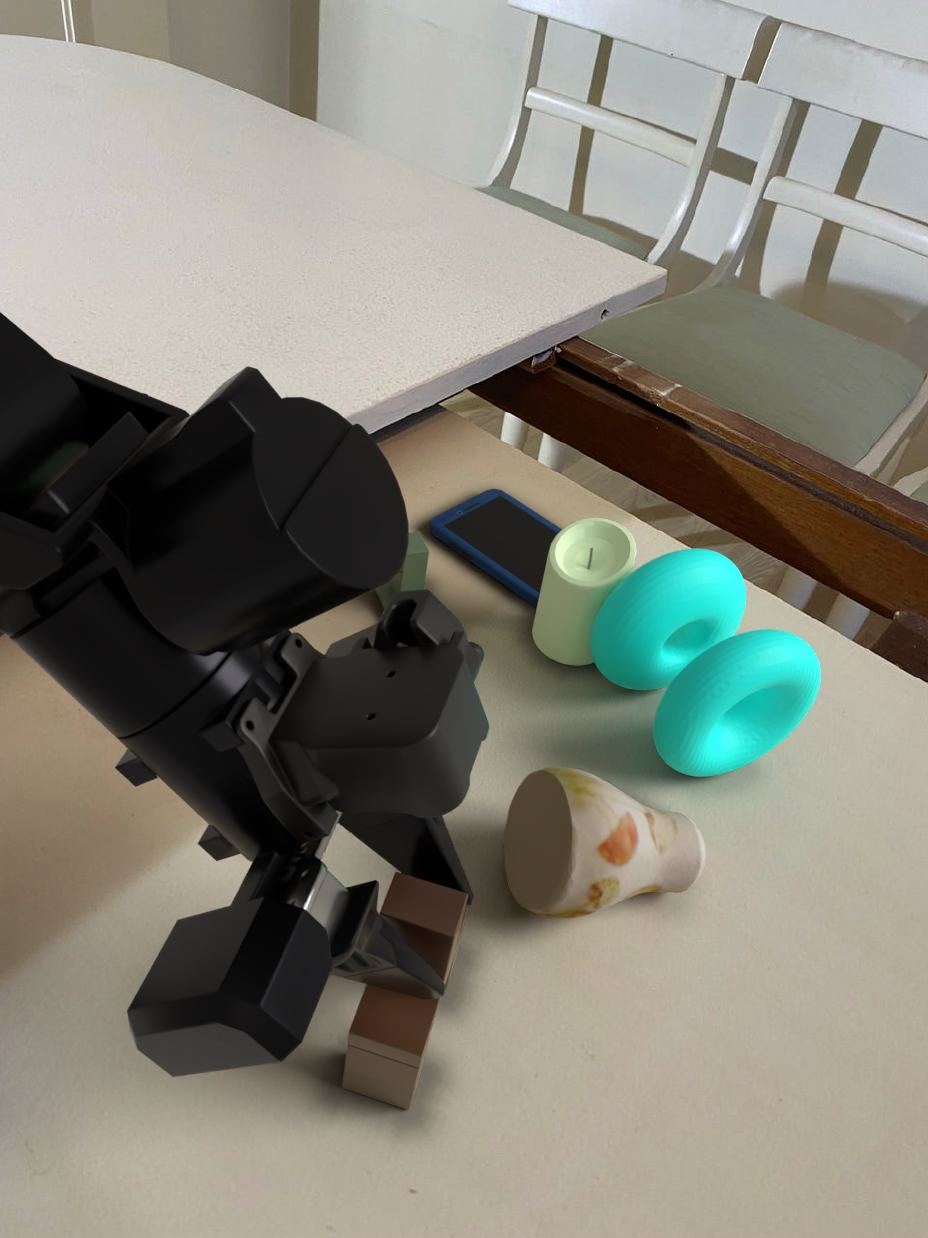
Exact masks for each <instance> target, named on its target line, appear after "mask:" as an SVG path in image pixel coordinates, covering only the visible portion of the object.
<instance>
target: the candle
mask: <svg viewBox="0 0 928 1238" xmlns="http://www.w3.org/2000/svg"><path fill="white" fill-rule="evenodd" d="M561 529H562V530H561V531H560V532H559V533H558V534H557V535H556V536H555V538H554V540H553V541H552V543H551V545H550V549H549V553H548V558H547V563H546V567H545V572H544V577H543V581H542V586H541V591H540V596H539V600H538V605H537V608H536V610H535V615H534V619H533V624H532V628H531V632H532V639H533V642H534V643H535V646H536V647H537V648H538V649H539V650H540V652H541V653H542V654H544V655H545V656H546V657H548V658H549V659H551V660H553V661H555V662H557V663H559V664H564V665H568V666H586V665H591V664H593V663H595V662H594V659H593V656H592V653H591V632H592V628H593V625H594V622H595V619H596V617H597V615H598V612H599V610H600V608H601V607H602V605H603V604H604V602H605V600H606V599H607V598H608V596H609V595H610V594H611V592H612V591H613V590H614V589H615V588H616V587H617V586H618V585H619V584H620V583H621V582H622V581H623V580H624V579H625V578H626V577H627V576H629V575H630V574H631V573H632V572H633V568H634V566H635V565H634V564H635V561H636V556H637V544H636V541H635V539H634V537H633V534H632V533H631V532H630V531H629V530H628V528H626V527H625V526H624V525H622V524H620V523H618V522H617V521H615V520H611V519H609V518H602V517H591V518H582V519H580V520H577V521H574V522H571V523H570V524H568V525H566V526H565V527H563V528H561Z"/></svg>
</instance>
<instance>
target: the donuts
mask: <svg viewBox="0 0 928 1238" xmlns="http://www.w3.org/2000/svg"><path fill="white" fill-rule="evenodd" d="M746 604H747V587H746V583H745V579H744V577H743V575H742V573H741V571H740V569H739V567H738V566H737V565H736V564H735V563H734V562H733V561H732V560H731V559H729V557H727V556H725V555H724V554H722V553H720V552H718V551H714V550H711V549H706V548H685V549H680V550H674V551H670V552H667V553H665V554H661V555H659V556H657V557H655V558H653V559H651V560H649V561H647V562H646V563H643V564H642V565H641V566H639V567H638V568H636V569H635V570H633V571H631V574H630V575H629V576H627V577H626V578H625V579H624V580H623V581H622V582H621V583H620V584H619V585H618V586H617V587H616V588H615V589H614V590H613V591H612V592H611V594H610V595H609V596H608V598H607V599H606V600H605V602H604V604H603V605H602V607H601V608H600V610H599V612H598V615H597V617H596V619H595V622H594V625H593V628H592V632H591V653H592V656H593V659H594V662H593V663H594V665H595V666H596V668H597V669H598V671H599V672H600V674H601V675H603V677H604V678H606V679H607V680H608V681H609V682H611V683H613V684H615V685H617V686H619V687H620V688H624V689H628V690H634V691H650V690H651V691H652V690H659V689H662V688H666V687H667V688H666V689H665V691H664V693H663V695H662V696H661V699H660V700H659V703H658V705H657V708H656V710H655V714H654V719H653V728H652V732H653V740H654V741H653V742H654V744H655V745H654V746H655V748H656V750H657V752H658V755H659V756H660V757H661V759H662V760H663V762H665V763H666V765H668V767H670V768H671V769H673V770H675V771H676V772H679V773H681V774H683V775H686V776H691V777H705V778H706V777H715V776H720V775H723V774H727V773H730V772H733V771H735V770H738V769H740V768H743V767H745V766H747V765H749V764H751V763H753V762H755V761H757V760H758V759H760V758H761V757H763V756H765V755H766V754H768V753H769V752H770V751H772V750H774V749H775V748H776V747H777V746H778V745H780V744H781V743H783V741H784V740H785V739H787V737H789V735H790V734H792V733H793V732H794V731H795V729H797V727H798V726H799V725H800V724H801V723H802V721H804V719H805V717H806V716H807V714H808V713H809V712H810V710H811V709H812V707H813V705H814V703H815V702H816V699H817V696H818V694H819V691H820V687H821V682H822V681H821V680H822V670H821V664H820V663H821V662H820V659H819V658H818V656H817V653H816V652H815V650H814V648H812V646H811V645H810V644H809V643H808V642H807V641H806V640H805V639H803V638H802V637H800V636H798V635H797V634H794V633H792V632H789V631H786V630H783V629H782V630H781V629H773V628H763V629H761V628H760V629H754V630H748V631H745V632H741V633H738V634H736V633H737V631H738V629H739V628H740V625H741V622H742V621H743V618H744V614H745V612H746V611H745V610H746V606H747V605H746Z"/></svg>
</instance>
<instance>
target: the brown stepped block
mask: <svg viewBox="0 0 928 1238" xmlns="http://www.w3.org/2000/svg"><path fill="white" fill-rule="evenodd" d="M467 899H468V894H467V893H464V892H460V891H457V890H454V889H451V888H448V887H445V886H441V885H438V884H435V883H432V882H429V881H425V880H422V879H419V878H416V877H413V876H409V875H406V874H403V873H401V872H400V871H395V872H394V874H393V876H392V879H391V882H390V885H389V887H388V889H387V892H386V895H385V897H384V900H383V903H382V905H381V908H380V910H379V912H378V913H379V914H380V916H382V917H383V918H384V919H385V920H386V921H387V922H388V923H389V924H390V925H391V926H392V927H393V928H394V929H395V930H396V931H397V932H398V933H399V934H400V935H401V936H402V937H403V938H404V939H405V940H406V941H407V942H408V943H409V944H410V945H411V946H412V947H413V948H414V949H415V950H416V951H417V952H418V953H419V954H420V955H421V956H422V957H423V958H424V959H425V960H426V961H427V962H428V963H429V964H430V965H431V967H432V968H433V969H434V970H435V972H436V973H437V974H438V976H439V977H440V978H441V980H442V981H443V982H444V984H445V985H446V990H445V992H446V991H447V989H448V987H449V983H450V980H451V976H452V973H453V970H454V967H455V964H456V960H457V956H458V952H459V948H460V944H461V940H462V935H463V931H464V928H465V924H466V920H467V916H468V912H469V908H470V906H467V907H466V903H467ZM362 992H363V993H362V996H361V998H360V1000H359V1003H358V1006H357V1009H356V1012H355V1014H354V1017H353V1020H352V1022H351V1024H350V1028H349V1030H348V1035H347V1043H346V1051H345V1059H344V1068H343V1076H342V1077H343V1078H342V1083H341V1088H342V1089H345V1090H348V1091H351V1092H354V1093H357V1094H360V1095H362V1096H366V1097H369V1098H370V1099H371V1098H372V1099H375V1100H377V1101H381V1102H383V1103H387V1104H389V1105H392V1106H395V1107H398V1108H400V1109H404V1110H408V1111H409V1110H410V1109H411V1107H412V1104H413V1101H414V1097H415V1094H416V1091H417V1088H418V1084H419V1080H420V1078H421V1074H422V1070H423V1066H424V1062H425V1058H426V1053H427V1049H428V1046H429V1041H430V1038H431V1034H432V1033H431V1032H432V1029H433V1027H434V1023H435V1020H436V1016H437V1013H438V1010H439V1007H440V1004H441V1000H442V997H439V998H433V999H420V998H416V997H413V996H409V995H405V994H402V993H398V992H394V991H390V990H387V989H383V988H379V987H376V986H372V985H368V984H365V987H364V990H363V991H362Z"/></svg>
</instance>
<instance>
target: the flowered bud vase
mask: <svg viewBox="0 0 928 1238" xmlns="http://www.w3.org/2000/svg"><path fill="white" fill-rule="evenodd" d="M503 835H504V837H503V853H504V868H505V869H504V870H505V877H506V882H507V885H508V889H509V890H510V893H511V895H512V897H513V898H514V900H516V904H518V905H519V906H520V907H522V908H524V909H525V910H528V911H530V912H533V913H534V914H537V915H539V916H543V917H548V918H553V919H574V918H579V917H584V916H588V915H592V914H595V913H597V912H599V911H602V910H604V909H607V908H609V907H612V906H613V905H616V904H618V903H620V902H623V901H624V900H627V899H630V898H633V897H634V896H637V895H640V894H644V893H675V894H678V893H679V894H681V893H683V892H686V891H688V890H689V889H690V888H691V887H693V885H694V884H695V883H696V881H698V879H699V878H700V877H701V875H702V873H703V871H704V868H705V865H706V860H707V851H706V843H705V839H704V837H703V835H702V832H701V830H700V829H699V828H698V827H697V825H696V823H695V821H693V820H692V819H691V818H690V817H689V816H688V815H686V814H684V813H682V812H677V811H670V810H669V811H668V810H661V809H656V808H652V807H649V806H648V805H647V806H646V805H644V804H643V803H641V802H638V800H635V798H633V797H631V796H629V795H628V794H626V793H625V792H623V791H622V790H620V789H618V788H617V787H615V786H614V785H613V784H610V783H609V782H607V781H606V780H604V779H602V778H600V777H598V776H596V775H595V774H592V773H589V772H587V771H585V770H581V769H578V768H573V767H563V766H562V767H545V768H541V769H538V770H534V771H532V772H530V773H529V774H528V775H526V777H525V778H523V780H522V781H521V782H520V784H519V785H518V787H517V788H516V791H515V793H514V795H513V797H512V800H511V802H510V805H509V807H508V812H507V817H506V823H505V828H504V834H503Z"/></svg>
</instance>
